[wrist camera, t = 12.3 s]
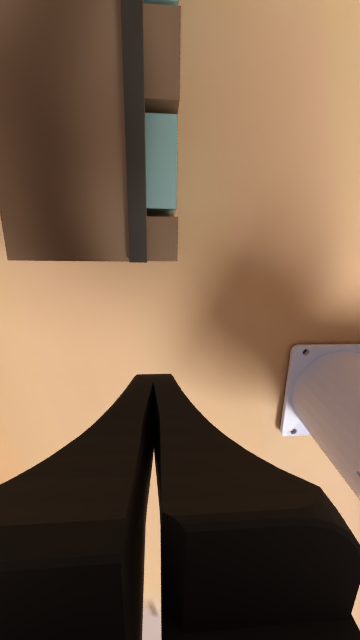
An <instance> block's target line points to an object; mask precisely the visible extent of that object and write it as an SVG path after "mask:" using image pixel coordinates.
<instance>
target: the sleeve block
mask: <svg viewBox="0 0 360 640" xmlns="http://www.w3.org/2000/svg"><path fill="white" fill-rule="evenodd" d="M180 18H181V6H172V5H159V4H146V3H143V0H0V214H1V221H2V227H3V233H4V240H5V246H6V252H7V259H8V260H33V261H130V262H147V261H177V242H178V217H174V213H173V214H162V213H147V204H146V143H145V113H161V114H177V113H178V106H179V92H180Z"/></svg>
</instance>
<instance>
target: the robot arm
mask: <svg viewBox="0 0 360 640" xmlns="http://www.w3.org/2000/svg"><path fill="white" fill-rule="evenodd" d="M305 349H307V351H306V352H305V353H303V351H304V350H305ZM292 429H294V430H293V431H291V430H292ZM280 431H281V433H282V435H284V436H309V435H311V436H312V437H313V439H314V440H315V441H316V443H317V444H318V445H319V447H320V448H321V449H322V451H323V452H324V453H325V455H326V456H327V457H328V459H329V460H330V461H331V462H332V464H333V465H334V466H335V468H336V469H337V470H338V472H339V473H340V474H341V476H342V477H343V478H344V480H345V481H346V482H347V484H348V485H349V486H350V488H351V489H352V490H353V492H354V493H355V494H356V496H357V497H358V498H359V500H360V344H298V345H295V346H293V348H292V349H291V354H290V361H289V368H288V375H287V383H286V390H285V397H284V404H283V411H282V418H281V425H280ZM153 452H154V453H155V464H156V475H157V486H158V497H159V507H160V524H161V626H162V628H161V629H162V630H161V631H162V640H360V630H359V628H358V626H357V624H356V622H355V621H354V619H353V617H352V615H351V612H352V609H353V605H354V602H355V599H356V595H357V592H358V588H359V585H360V544H359V543H358V541H357V540H356V538H355V536H354V535H353V533H352V532H351V530H350V529H349V527H348V526H347V524H346V522H345V521H344V519H343V518H342V516H341V515H340V513H339V512H338V510H337V509H336V507H335V506H334V505H333V504H332V502H331V501H330V500H329V498H328V497H327V496H326V494H325V493H324V492H323V490H322V489H321V488H320V487H319V486H317V485H314V484H312V483H310V482H308V481H306V480H303V479H301V478H299V477H297V476H295V475H292V474H290V473H288V472H286V471H284V470H281V469H279V468H277V467H276V466H274V465H272V464H270V463H268V462H266V461H265V460H263V459H261V458H259V457H257V456H256V455H254V454H252V453H251V452H249V451H247V450H246V449H244V448H243V447H241V446H240V445H238V444H237V443H236V442H234V441H233V440H231V439H230V438H228V437H227V436H226V435H224V434H223V433H222V432H221V431H219V430H218V429H217V428H216V427H215V426H213V425H212V424H211V423H210V422H209V421H208V420H207V419H206V418H205V417H204V416H203V415H202V414H201V413H200V412H199V411H198V410H197V409H196V408H195V406H194V405H193V404H192V403H191V402H190V400H189V399H188V398H187V397H186V395H185V394H184V393H183V391H182V390H181V388H180V387H179V386H178V384H177V382H176V381H175V379H174V377H173V376H172V375H171V374H142V375H136V376H135V377H134V378H133V380H132V381H131V382H130V384H129V385H128V387H127V388H126V389H125V390H124V392H123V393H122V394H121V395H120V397H119V398H118V399H117V400H116V401H115V403H114V404H113V405H112V406H111V407H110V408H109V409H108V410H107V411H106V412H105V413H104V414H103V415H102V416H101V417H100V418H99V419H98V420H97V421H96V422H95V423H94V424H93V425H92V426H91V427H90V428H88V429H87V430H86V431H85V432H84V433H82V434H81V435H80V436H79V437H77V438H76V439H75V440H73V441H72V442H70V443H69V444H67V445H66V446H65V447H63V448H62V449H60V450H59V451H57V452H56V453H55V454H53V455H52V456H50V457H49V458H47V459H45V460H44V461H42V462H40V463H39V464H37V465H35V466H34V467H32V468H30V469H28V470H27V471H25V472H23V473H21V474H20V475H18V476H16V477H14V478H12V479H10V480H9V481H7V482H5V483H3V484H1V485H0V640H142V619H143V585H144V553H145V525H146V512H147V503H148V495H149V486H150V478H151V470H152V461H153Z"/></svg>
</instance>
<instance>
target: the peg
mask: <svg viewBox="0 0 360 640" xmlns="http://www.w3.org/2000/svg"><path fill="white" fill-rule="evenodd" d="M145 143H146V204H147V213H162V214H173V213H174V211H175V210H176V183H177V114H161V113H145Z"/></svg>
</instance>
